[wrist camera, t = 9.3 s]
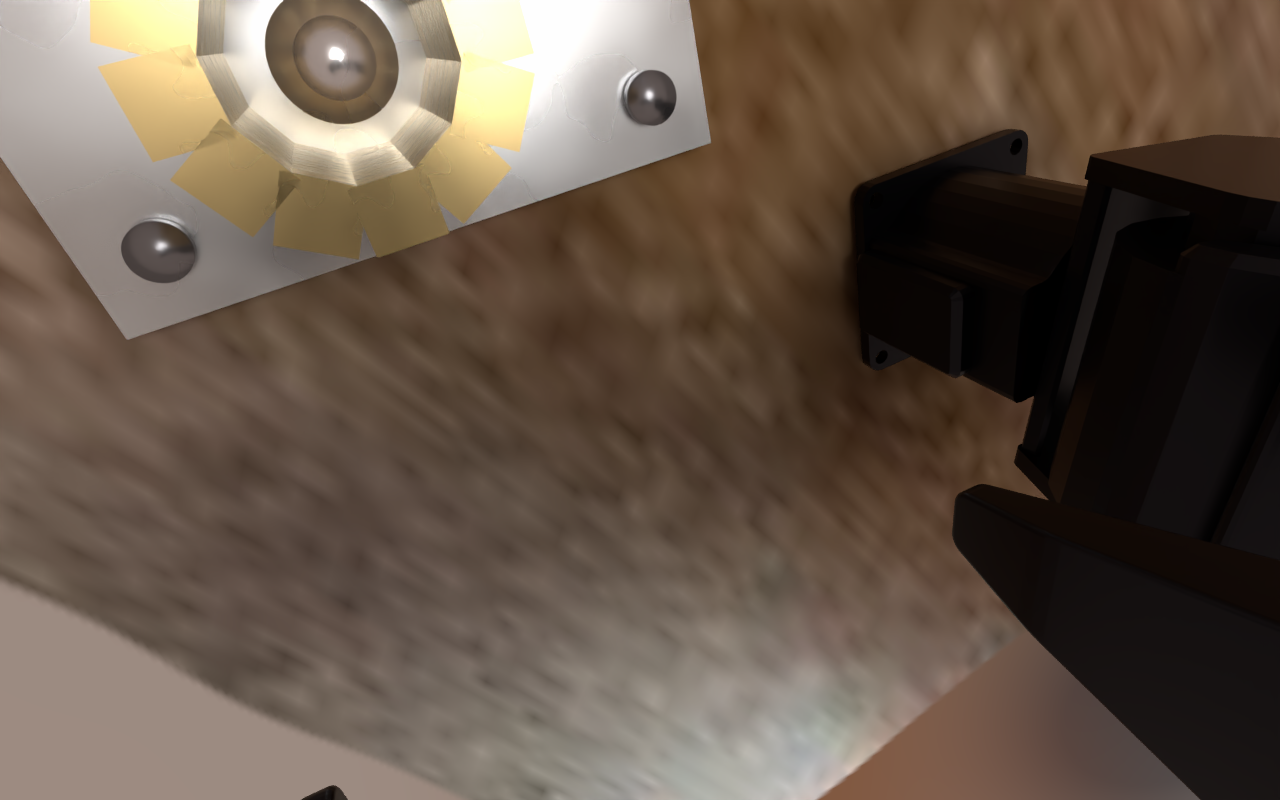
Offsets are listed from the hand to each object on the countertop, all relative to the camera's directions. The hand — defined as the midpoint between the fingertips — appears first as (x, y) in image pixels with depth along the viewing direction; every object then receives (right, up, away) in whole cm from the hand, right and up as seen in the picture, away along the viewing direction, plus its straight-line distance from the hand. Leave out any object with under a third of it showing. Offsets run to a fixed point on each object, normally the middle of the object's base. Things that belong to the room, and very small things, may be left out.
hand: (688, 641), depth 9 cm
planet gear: (-7, +10, +5) cm, 13 cm away
